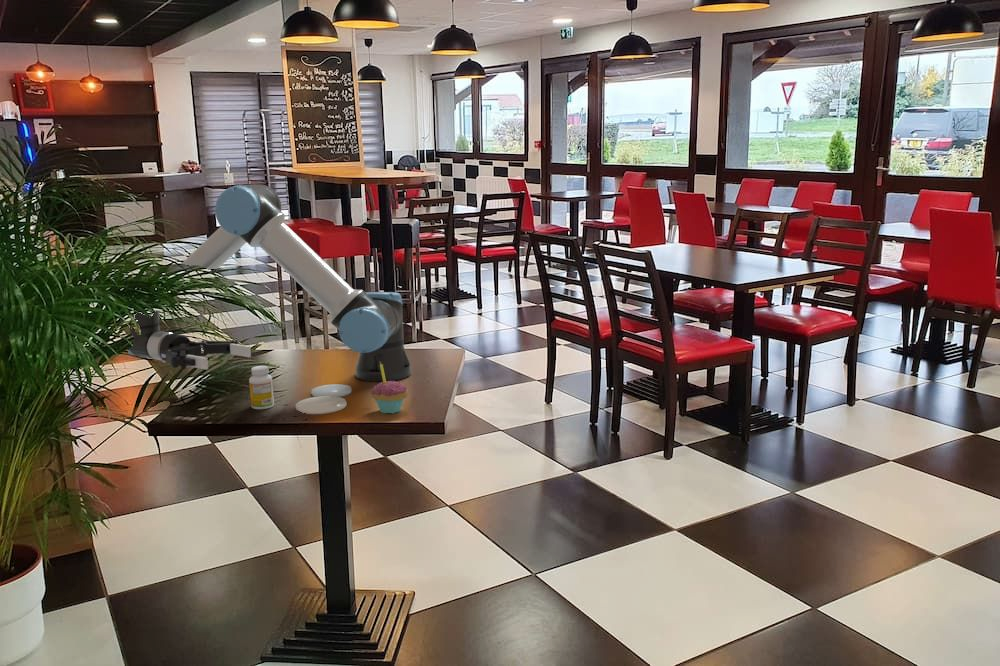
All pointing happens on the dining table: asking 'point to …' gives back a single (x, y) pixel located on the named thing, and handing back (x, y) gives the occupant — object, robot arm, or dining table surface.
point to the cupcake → (389, 394)
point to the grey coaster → (331, 390)
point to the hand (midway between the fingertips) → (228, 357)
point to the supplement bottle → (261, 388)
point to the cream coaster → (321, 405)
